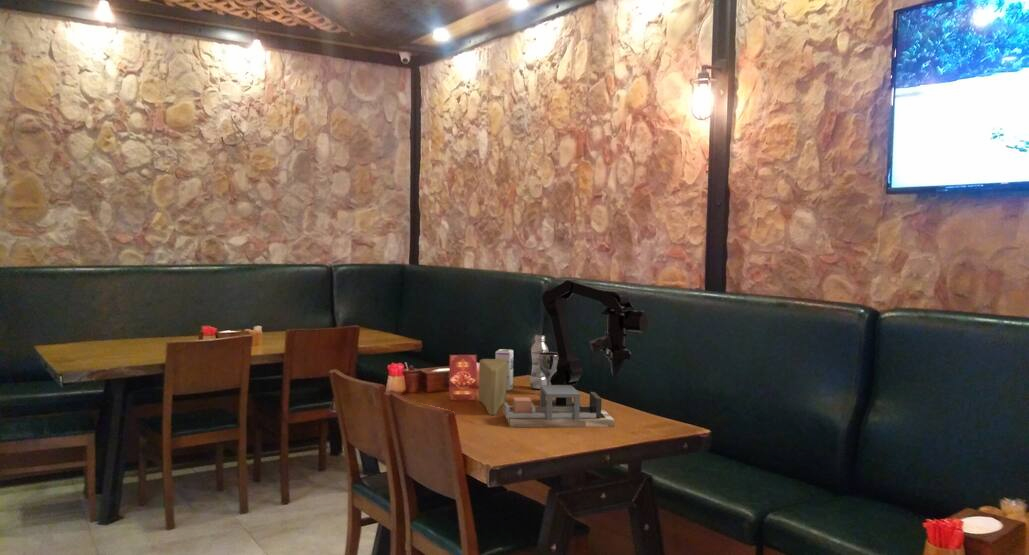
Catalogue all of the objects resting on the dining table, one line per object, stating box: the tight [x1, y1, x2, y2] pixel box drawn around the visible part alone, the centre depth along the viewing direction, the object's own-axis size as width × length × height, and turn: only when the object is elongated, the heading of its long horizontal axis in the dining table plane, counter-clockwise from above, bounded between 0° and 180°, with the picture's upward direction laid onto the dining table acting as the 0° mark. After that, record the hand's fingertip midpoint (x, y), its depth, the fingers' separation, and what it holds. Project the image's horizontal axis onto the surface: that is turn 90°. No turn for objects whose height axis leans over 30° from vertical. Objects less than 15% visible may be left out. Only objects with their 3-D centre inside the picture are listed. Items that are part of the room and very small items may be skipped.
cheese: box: [478, 358, 508, 416], centre depth 263 cm, size 22×10×15 cm, turn 1°
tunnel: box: [539, 384, 581, 420], centre depth 247 cm, size 14×10×8 cm
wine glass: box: [538, 351, 559, 396], centre depth 287 cm, size 8×8×15 cm
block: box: [512, 396, 533, 413], centre depth 246 cm, size 5×5×5 cm
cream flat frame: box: [506, 409, 616, 428], centre depth 247 cm, size 14×32×2 cm, turn 97°
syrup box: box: [495, 348, 514, 392], centre depth 295 cm, size 6×6×14 cm
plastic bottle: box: [529, 334, 549, 390], centre depth 296 cm, size 6×7×20 cm
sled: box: [502, 391, 602, 419], centre depth 247 cm, size 10×29×6 cm, turn 97°
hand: (614, 376), depth 260 cm, fingers closed
